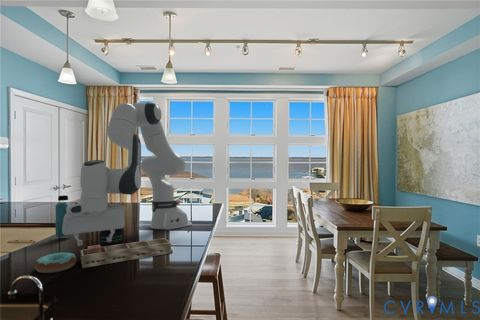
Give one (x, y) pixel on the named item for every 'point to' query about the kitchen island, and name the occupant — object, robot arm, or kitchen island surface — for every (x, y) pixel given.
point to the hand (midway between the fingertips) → (95, 243)
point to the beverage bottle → (61, 215)
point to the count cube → (94, 249)
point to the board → (126, 252)
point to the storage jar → (116, 237)
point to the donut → (55, 262)
